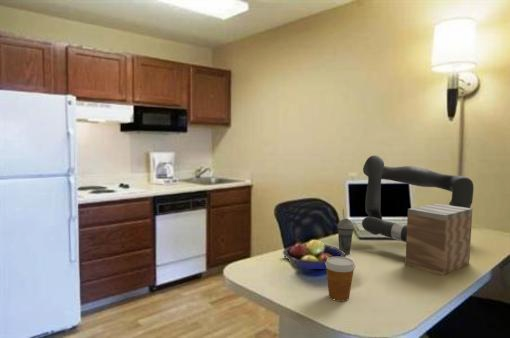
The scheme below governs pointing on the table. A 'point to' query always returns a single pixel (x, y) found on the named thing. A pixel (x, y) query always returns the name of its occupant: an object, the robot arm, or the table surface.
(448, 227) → the under counter cubby
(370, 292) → the table surface
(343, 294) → the disposable coffee cup
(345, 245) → the beverage cup
